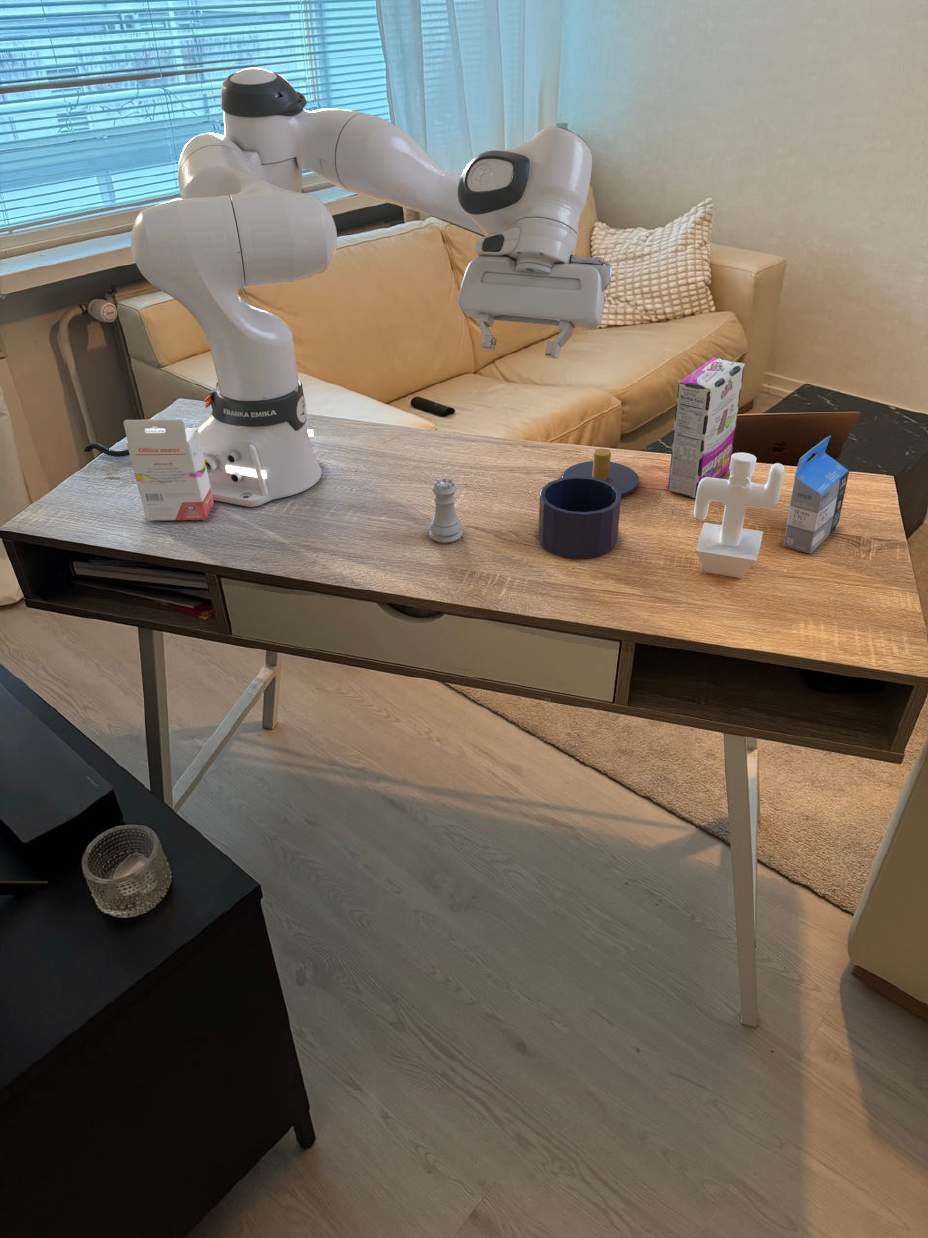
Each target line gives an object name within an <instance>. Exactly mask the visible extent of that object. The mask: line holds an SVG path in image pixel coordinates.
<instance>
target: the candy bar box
mask: <svg viewBox="0 0 928 1238" xmlns="http://www.w3.org/2000/svg"><path fill="white" fill-rule="evenodd" d="M745 366H746V363H743V362H739V361H733V360H729V359H723V358H720V357H713V358H712V359H709V360H708V361H706V363H704V364H703V365H701V366H700V367H698V368H697V369H695V370H694V371H693V372H691V373H690V374H689V375H687V376H686V377H684V378H683V379H681V380H680V381H679V382H677V383H678V385H677V395H676V396H677V397H676V403H675V404H676V405H675V412H674V413H675V414H674V415H675V416H674V425H673V434H672V436H673V438H672V445H671V446H672V447H671V454H670V466H669V474H668V475H669V476H668V485H667V491H668V492H671V493H673V494H676V495H680V496H684V497H688V498H692V499H695V500H696V494H697V488H698V485H699V482H700V481H701V480H702V479H703V478H705V477H711V478H719V479H722V478H723V477H724V476H725V475H726V474H727V473H728V472H729V471H730V469H729V467H730V461H731V456H732V454H733V448H734V440H735V434H736V428H737V419H738V413H739V406H740V399H741V394H742V393H741V392H742V385H743V379H744V370H745Z"/></svg>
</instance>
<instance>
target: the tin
mask: <svg viewBox="0 0 928 1238" xmlns="http://www.w3.org/2000/svg"><path fill="white" fill-rule="evenodd" d="M621 502H622V496H621V493H620V492H619V490H618V489H617V488H616V487H615V486H614V485H612V484H610V483H608V482H606V481H604V480H600V479H596V478H592V477H579V476H574V477H566V478H562V477H560V478H558V479H555V480H552V481H549V482H547V484H545V485H544V486H543V487H541V489H540V493H539V503H538V505H539V508H538V509H539V510H538V538H539V539H538V540H539V543H540V545H541V546H542V547H543V549H545V550H546V551H548V552H549V553H551V554H553V555H555V556H559V557H562V558H566V559H573V560H574V559H575V560H586V559H587V560H588V559H595V558H599V557H601V556H604V555H607V554H609V553H610V552H611V551H613V550H614V549H615V548H616V546H617V543H618V536H619V527H620V526H619V525H620V515H621Z"/></svg>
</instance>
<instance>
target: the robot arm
mask: <svg viewBox="0 0 928 1238" xmlns="http://www.w3.org/2000/svg"><path fill="white" fill-rule="evenodd" d="M307 104H308V101H307V99H306V97H305V95H304V94H302V92H299V91H298V90H297V91H296V89H295V87H294V86H293V85H292V83H291V82H289V81H288V80H287V79H286V78H285V77H283V76H282V75H281V74H279V73H277V72H276V71H272V70H267V69H263V68H261V67H260V68H258V67H248V68H245V69H241V70H239V71H237V72H234V73H231V74H229V75H228V76H227V77H226V78H225V79H224V80H223V82H222V83H221V91H220V108H221V110H222V112H223V126H224V128H223V129H224V135H223V134H219V133H215V132H204V133H200V134H197V135H195V136H194V137H192V138H191V139H189V141H187V143H186V144H185V145H184V147H183V149H182V152H181V154H180V157H179V161H178V168H177V182H178V188H179V194H180V197H181V198H175V199H172V200H170V201H166V202H162V203H159V204H155V205H153V206H150V207H147V208H146V207H145V208H143V209H141V210H140V212H139V213H138V215H137V216H136V218H135V220H134V223H133V225H132V229H131V233H130V246H131V247H130V248H131V252H132V257H133V259H134V263H135V265H136V267H137V268H138V270H139V272H140V273H141V275H142V276H143V277H144V279H145V280H146V281H147V282H148V283H149V284H151V285H152V286H153V287H154V288H156V289H157V290H159V291H161V292H163V293H165V294H166V295H167V296H169V297H171V298H173V299H174V300H175V301H177V302H178V303H179V304H181V306H183V307H184V308H185V309H186V310H187V312H189V313H190V314H191V316H192V317H193V318H194V319H195V320H196V322H197V324H198V325H199V327H200V328H201V330H202V332H203V334H204V336H205V339H206V341H207V344H208V348H209V351H210V354H211V356H212V362H213V364H214V370H215V375H216V380H217V382H216V383H215V388H213V389H212V390H210V392H209V393H208V396H206V398H204V400H203V403H205V405H204V408H205V409H208V408H209V407H210V406H211V413H209V414H208V415H207V416H206V417H205V418H204V419H203V420H201V421H200V422H199V423H198V424H197V425H195V424H191V425H189V426H187V428H198V432H199V437H200V441H201V445H202V450H203V454H204V459H205V464H206V468H207V473H208V478H209V482H210V487H211V492H212V496H213V501H214V502H220V503H226V504H231V505H236V506H243V507H248V508H255V507H259V506H262V505H264V504H266V503H269V502H271V501H274V500H277V499H282V498H287V497H290V496H293V495H294V496H295V495H297V494H300V493H302V492H304V491H305V492H306V491H307V490H309V489H310V488H312V487H313V486H314V485H316V484H317V483H318V482H319V481H320V479H321V478H322V475H323V471H322V467H321V465H320V463H319V460H318V459H317V457H316V454H315V451H314V449H313V445H312V442H311V438H310V437H314V429H308V427H307V419H308V418H307V403H306V398H305V394H304V387H303V383H302V381H301V380H300V378H299V373H298V372H299V371H298V365H297V358H296V357H297V356H296V350H295V342H294V336H293V332H292V331H291V328H290V327H289V326H288V324H287V323H286V322H285V321H284V320H283V319H281V317H279V316H277V315H276V314H274V313H271V312H269V311H267V310H264V309H261V308H258V307H255V306H253V305H250V304H248V303H247V302H245V301H244V300H243V299H242V298H241V297H240V296H239V291H240V290H241V289H244V288H250V287H251V288H252V287H260V286H269V285H270V286H271V285H277V284H287V283H294V282H298V281H301V280H304V279H307V278H311V277H314V276H317V275H319V274H324V273H326V272H327V270H328V269H329V268H330V266H331V264H332V263H333V260H334V258H335V255H336V252H337V247H338V232H337V226H336V223H335V220H334V217H333V215H332V213H331V212H330V210H329V208H328V207H327V206H326V204H325V203H324V202H323V201H322V200H321V199H320V198H319V197H318V196H317V195H315V194H310V193H305V191H304V188H303V170H308V171H310V172H311V173H313V174H314V175H315V176H317V177H318V178H320V179H322V180H324V181H326V182H327V183H329V184H331V185H333V186H336V187H338V188H339V189H342V190H344V191H348V192H351V193H354V194H356V195H360V196H363V197H367V198H370V199H373V200H378V201H381V202H384V203H388V204H392V205H395V206H397V207H398V206H400V207H402V208H404V209H408V210H411V211H414V212H418V213H422V214H425V215H427V216H429V217H432V218H436V219H437V220H440V221H443V222H444V223H447V224H449V225H453V226H455V227H456V228H460V229H463V230H465V231H467V232H470V233H472V234H475V235H477V236H480V238H478V239H477V240H476V243H475V247H474V252H475V253H476V255H477V256H475V258H473V259H472V260H470V262H469V263H468V265H467V267H466V270H465V272H464V274H463V279H462V280H461V281H462V282H461V285H460V289H459V293H458V298H457V305H458V307H459V309H460V310H461V312H462V313H463V314H464V315H465V316H466V317H468V318H470V319H478V320H477V321H478V325H479V328H480V331H481V335H482V338H481V342H480V348H481V350H483V351H485V352H493V353H494V352H495V350H496V345H497V341H498V340H497V338H496V337H494V335H492V334H491V330H490V328H493V327H494V323H495V321H500V322H509V323H518V324H529V325H538V326H540V325H541V326H549V327H558V330H559V331H560V332H559V333H558V335H557V336H556V337H555V338H554V340H553V341H549V340H548V341H546V348H545V350H544V355H545V357H546V358H548V359H554V360H558V359H559V358H560V353H561V349H562V348H563V347H564V346H565V344H566V343H567V342H568V341H569V340H570V338H572V336H573V333H574V329H578V330H590V331H595V330H596V329H597V328H598V327H599V326H600V325H601V324H602V322H603V317H604V316H603V315H604V308H605V298H606V290H607V289H608V288H609V286H610V283H611V280H612V275H613V268H612V266H611V264H610V263H609V262H608V261H606V260H605V259H604V258H603V257H599V256H593V257H591V256H590V257H589V256H585V255H575V253H576V249H577V245H578V241H579V235H580V233H579V223H580V219H581V216H582V215H583V213H584V211H585V208H586V205H587V200H588V196H589V191H590V186H591V185H590V184H591V177H592V169H593V154H592V152H591V149H590V147H589V145H588V143H586V141H585V140H584V139H583V138H582V137H581V136H580V135H579V134H577V133H575V132H573V131H572V130H570V129H567V128H564V127H561V126H547V127H544V128H542V129H541V130H539V131H538V132H537V133H536V134H535V135H534V136H533V137H531V138H530V139H529V140H527V141H526V142H524V143H521V144H519V145H515V146H513V147H509V148H506V149H503V150H494V149H493V150H487V151H484V152H482V153H479V154H477V155H476V156H475V157H474V158H472V159H471V160H470V161H469V162H468V163H467V164H466V166H465V168H464V169H463V170H462V173H461V175H460V178H457V177H456V176H453V174H450V173H449V172H448V171H446V170H445V169H444V168H443V167H442V166H441V165H440V164H438V163H437V162H436V160H434V159H433V158H432V157H431V156H430V155H429V154H428V153H427V152H426V151H425V149H424V148H423V147H421V145H420V144H419V143H418V142H416V140H414V138H413V137H412V136H411V135H409V133H407V132H406V131H405V130H403V129H402V128H400V127H399V126H397V125H395V124H394V123H392V122H390V121H389V120H387V119H384V118H382V117H379V116H376V115H374V114H370V113H365V112H361V111H357V110H351V109H343V108H342V109H341V108H320V109H316V110H312V111H311V110H310V111H309V110H306V109H304V108H305V107H306V106H307ZM94 449H95V450H97V451H99V452H101V453H102V454H105V455H106V456H110V457H114V458H122V457H123V458H124V457H128V456H130V454H129V450H128V448H127V449H124V450H114V449H110V448H109V447H108V448H107V447H106V446H104V445H102V444H100V443H98V442H90V443H88V444H86V446H85V447H84V449H83V451H84V452H85V453H89V452H91V451H92V450H94ZM109 450H110V451H109Z"/></svg>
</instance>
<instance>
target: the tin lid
mask: <svg viewBox="0 0 928 1238" xmlns="http://www.w3.org/2000/svg"><path fill="white" fill-rule="evenodd" d="M611 456H612V451H611V450H609V449H607V448H596V449H595V450H594V451H593V459H592V460H589V461H582V462H578V463H575V464H573V465H570V466H569V467H568V468H566V469H565V470H564V471H563V473H562V475H561V476H562V477H561V478H566V477H574V476H579V477H592V478H596V479H600V480H604V481H606V482H608V483H610V484H612V485H614V486H615V487H616V488H617V489H618V490H619V492H620V493H621V497H624V496H627V495H629V494H631V493H633V492H635V490H636V489H637V488H638V487H639V483H640V476H639V475H638V473H637V472H636V471H635V470H634V469H633V468H630V467H629V466H627V465H625V464H622V463H619V462H614V461H611Z"/></svg>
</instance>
